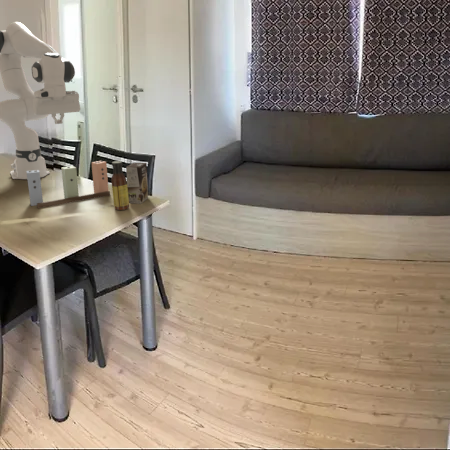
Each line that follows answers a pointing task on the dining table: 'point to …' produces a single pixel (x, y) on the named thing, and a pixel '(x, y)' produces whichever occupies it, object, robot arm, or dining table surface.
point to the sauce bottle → (119, 187)
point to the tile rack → (73, 199)
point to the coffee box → (137, 182)
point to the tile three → (100, 176)
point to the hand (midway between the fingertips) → (58, 123)
